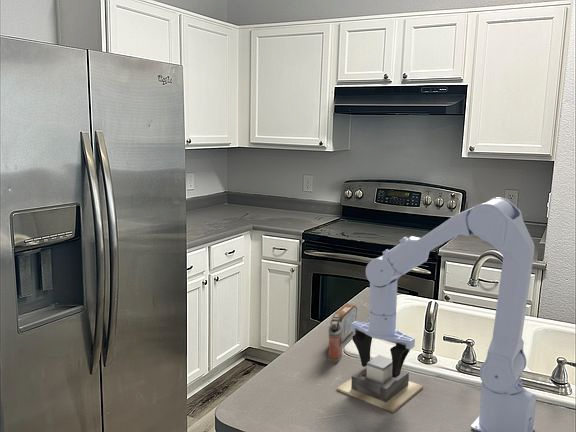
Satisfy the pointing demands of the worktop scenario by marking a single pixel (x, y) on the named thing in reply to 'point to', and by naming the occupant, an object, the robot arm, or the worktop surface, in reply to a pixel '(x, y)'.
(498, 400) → the robot arm
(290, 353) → the worktop surface
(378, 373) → the plug
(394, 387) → the socket
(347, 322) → the tin
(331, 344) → the lighter
